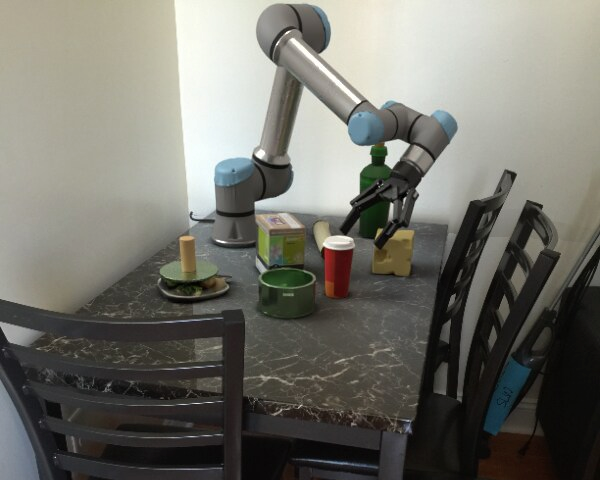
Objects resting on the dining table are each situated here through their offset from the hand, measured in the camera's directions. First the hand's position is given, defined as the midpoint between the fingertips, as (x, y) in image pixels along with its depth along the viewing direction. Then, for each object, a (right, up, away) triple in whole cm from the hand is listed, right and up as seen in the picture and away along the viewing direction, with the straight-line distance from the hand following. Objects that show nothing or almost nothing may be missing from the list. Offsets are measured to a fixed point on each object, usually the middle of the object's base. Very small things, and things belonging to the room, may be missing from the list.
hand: (358, 239), depth 160 cm
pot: (-18, -17, -4) cm, 25 cm away
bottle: (+9, +13, +48) cm, 50 cm away
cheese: (+11, -3, +20) cm, 23 cm away
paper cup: (-5, -13, +4) cm, 15 cm away
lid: (-42, -8, +2) cm, 43 cm away
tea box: (-20, -6, +15) cm, 26 cm away
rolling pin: (-7, +6, +35) cm, 37 cm away
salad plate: (-42, -12, +5) cm, 44 cm away
